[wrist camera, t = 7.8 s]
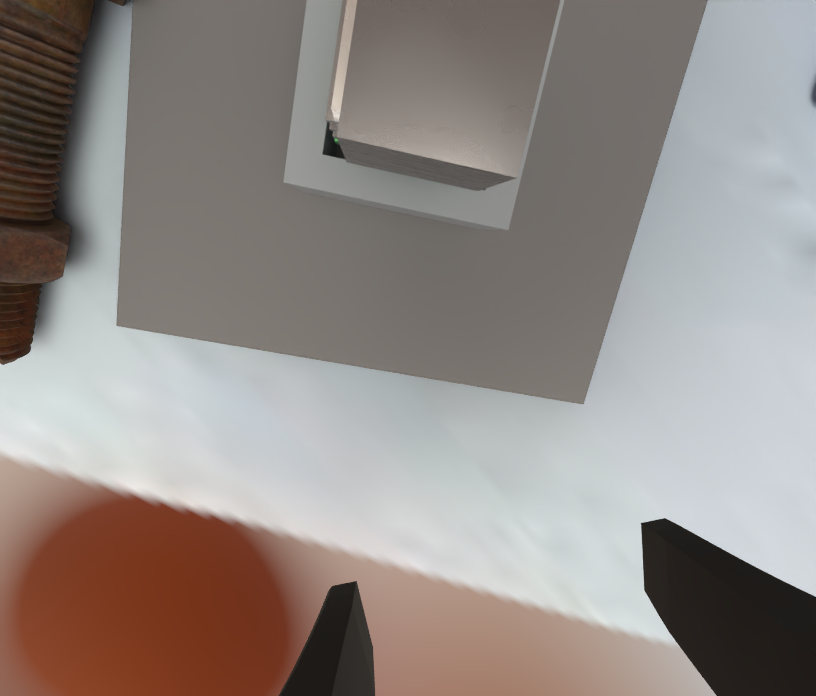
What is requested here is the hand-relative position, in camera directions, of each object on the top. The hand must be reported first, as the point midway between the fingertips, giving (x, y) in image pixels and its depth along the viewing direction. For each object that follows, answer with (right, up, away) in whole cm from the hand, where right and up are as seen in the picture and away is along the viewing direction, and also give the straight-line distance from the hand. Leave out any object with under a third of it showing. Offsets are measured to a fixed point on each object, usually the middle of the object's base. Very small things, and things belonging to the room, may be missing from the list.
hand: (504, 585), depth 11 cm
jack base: (-2, +15, +7) cm, 16 cm away
